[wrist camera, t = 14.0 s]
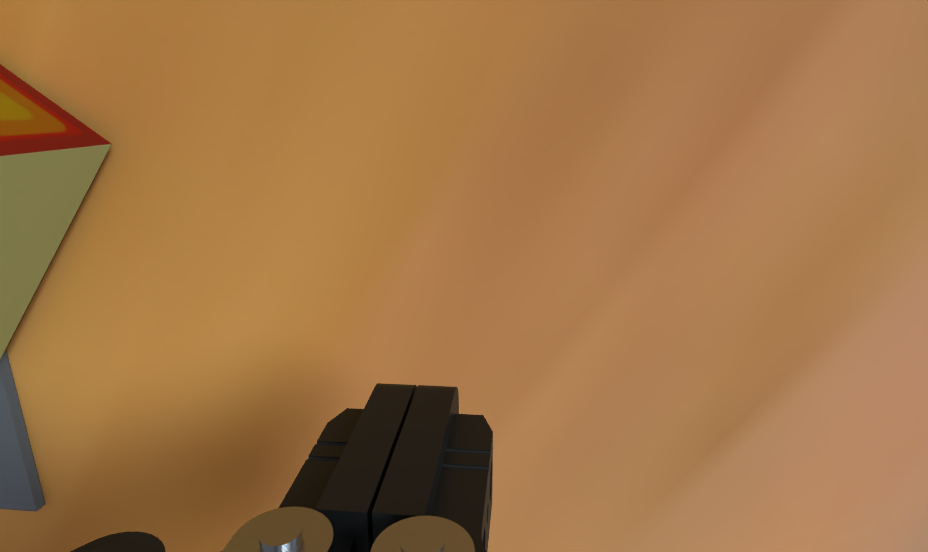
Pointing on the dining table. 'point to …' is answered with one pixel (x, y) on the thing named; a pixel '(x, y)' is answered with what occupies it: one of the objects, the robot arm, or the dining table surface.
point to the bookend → (15, 450)
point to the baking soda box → (37, 189)
